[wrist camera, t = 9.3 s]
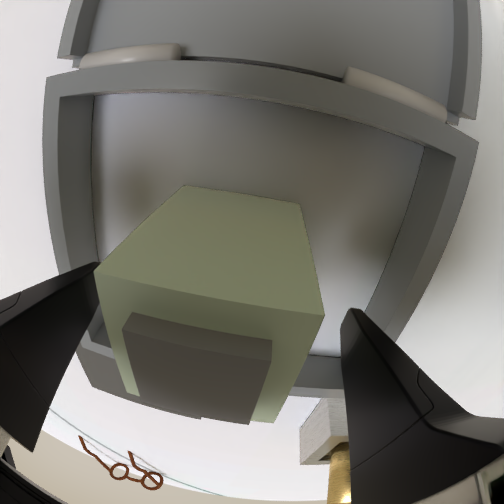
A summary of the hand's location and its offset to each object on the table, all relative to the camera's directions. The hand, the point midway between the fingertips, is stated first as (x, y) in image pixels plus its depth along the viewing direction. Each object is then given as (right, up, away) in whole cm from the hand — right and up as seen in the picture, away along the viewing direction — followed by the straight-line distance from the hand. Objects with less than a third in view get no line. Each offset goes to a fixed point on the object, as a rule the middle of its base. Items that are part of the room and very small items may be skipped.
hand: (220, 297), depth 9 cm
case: (+1, +9, 0) cm, 9 cm away
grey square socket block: (+9, -12, +10) cm, 18 cm away
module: (0, +2, +3) cm, 4 cm away
